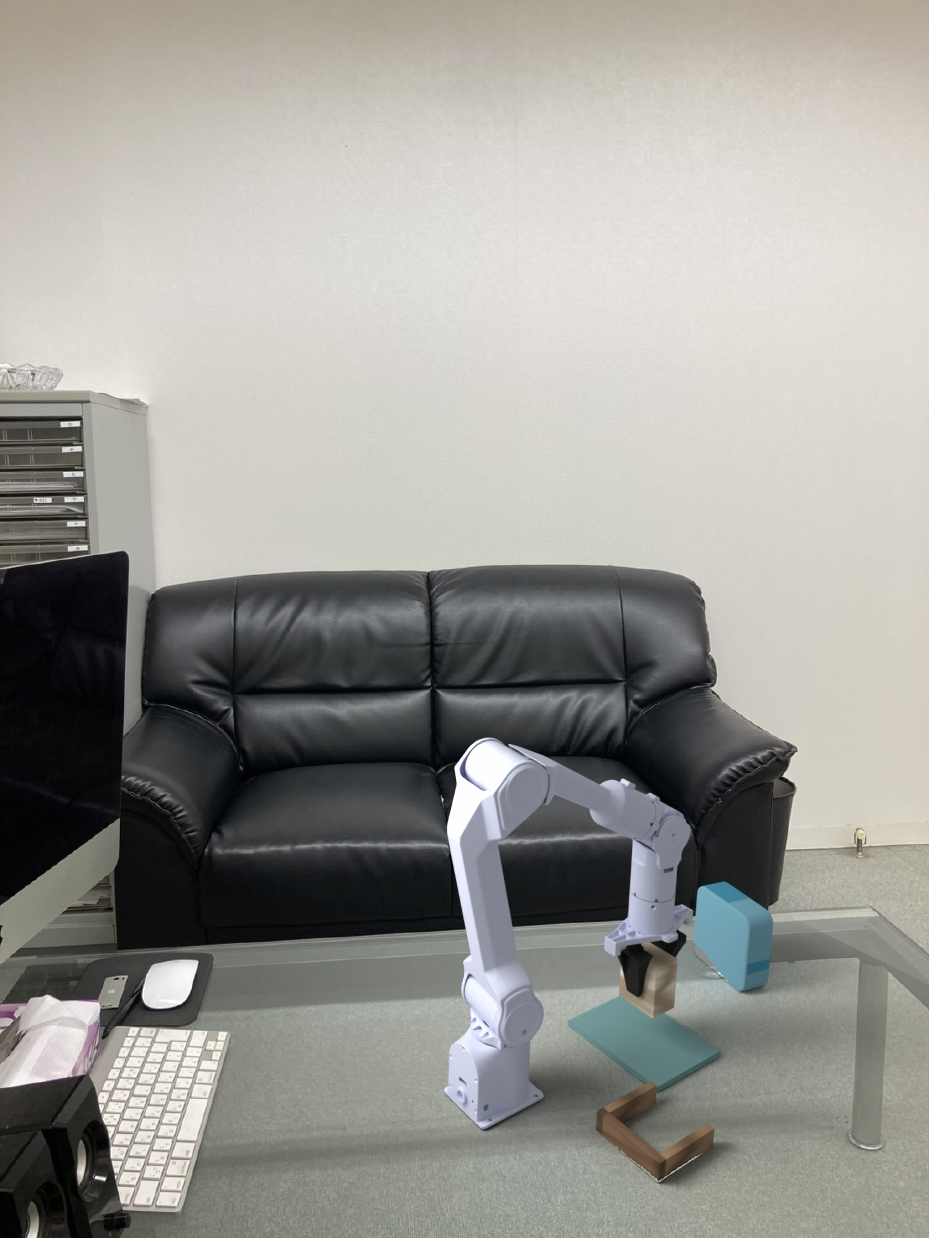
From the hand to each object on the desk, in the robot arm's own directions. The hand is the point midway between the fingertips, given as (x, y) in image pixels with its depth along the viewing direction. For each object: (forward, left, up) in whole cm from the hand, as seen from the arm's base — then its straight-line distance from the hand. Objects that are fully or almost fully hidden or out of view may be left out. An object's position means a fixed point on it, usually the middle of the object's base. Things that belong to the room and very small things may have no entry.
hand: (646, 986), depth 123 cm
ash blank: (0, 0, -2) cm, 2 cm away
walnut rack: (-12, -13, -8) cm, 19 cm away
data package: (+23, +4, -8) cm, 25 cm away
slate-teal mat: (0, 0, -8) cm, 8 cm away
